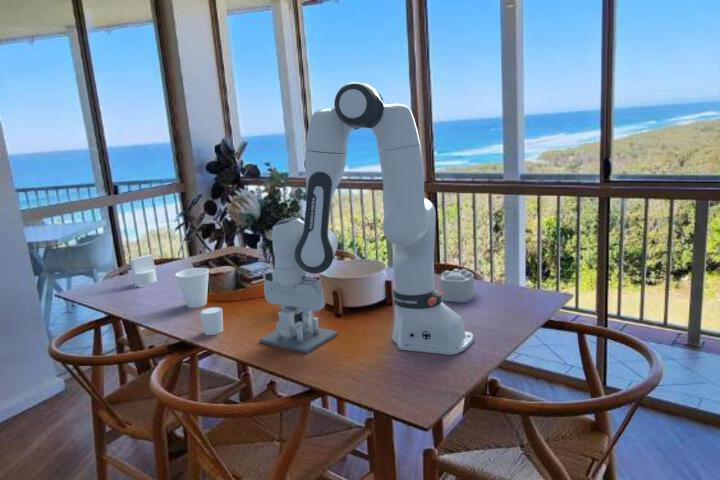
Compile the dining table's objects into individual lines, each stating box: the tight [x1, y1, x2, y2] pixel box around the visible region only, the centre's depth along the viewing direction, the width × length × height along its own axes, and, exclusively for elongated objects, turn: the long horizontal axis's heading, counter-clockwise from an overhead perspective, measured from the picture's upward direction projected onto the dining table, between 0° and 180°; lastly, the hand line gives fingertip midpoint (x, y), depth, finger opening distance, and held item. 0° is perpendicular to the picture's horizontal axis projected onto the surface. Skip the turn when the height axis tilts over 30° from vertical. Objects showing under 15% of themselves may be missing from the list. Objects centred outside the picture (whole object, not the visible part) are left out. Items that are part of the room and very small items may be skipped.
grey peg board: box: [258, 317, 339, 355], centre depth 152 cm, size 18×14×6 cm
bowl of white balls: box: [439, 268, 475, 303], centre depth 177 cm, size 10×13×9 cm
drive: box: [277, 306, 314, 337], centre depth 151 cm, size 4×10×7 cm, turn 145°
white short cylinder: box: [199, 306, 224, 336], centre depth 162 cm, size 7×7×7 cm
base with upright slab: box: [129, 254, 158, 286], centre depth 221 cm, size 9×9×12 cm
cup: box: [174, 267, 210, 309], centre depth 189 cm, size 12×12×12 cm
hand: (296, 320), depth 151 cm, fingers closed on drive, 4 cm apart
